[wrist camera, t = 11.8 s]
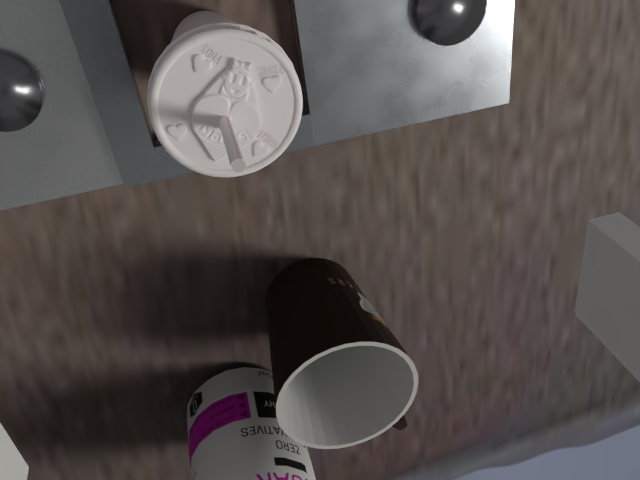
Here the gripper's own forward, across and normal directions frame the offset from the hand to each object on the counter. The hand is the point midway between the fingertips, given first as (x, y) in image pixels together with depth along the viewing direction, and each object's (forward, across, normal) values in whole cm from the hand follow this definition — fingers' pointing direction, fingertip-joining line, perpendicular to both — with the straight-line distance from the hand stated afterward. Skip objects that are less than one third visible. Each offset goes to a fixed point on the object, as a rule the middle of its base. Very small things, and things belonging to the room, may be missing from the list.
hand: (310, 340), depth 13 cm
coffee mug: (+24, +3, -20) cm, 32 cm away
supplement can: (+24, -4, -27) cm, 36 cm away
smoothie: (+24, 0, 0) cm, 24 cm away
